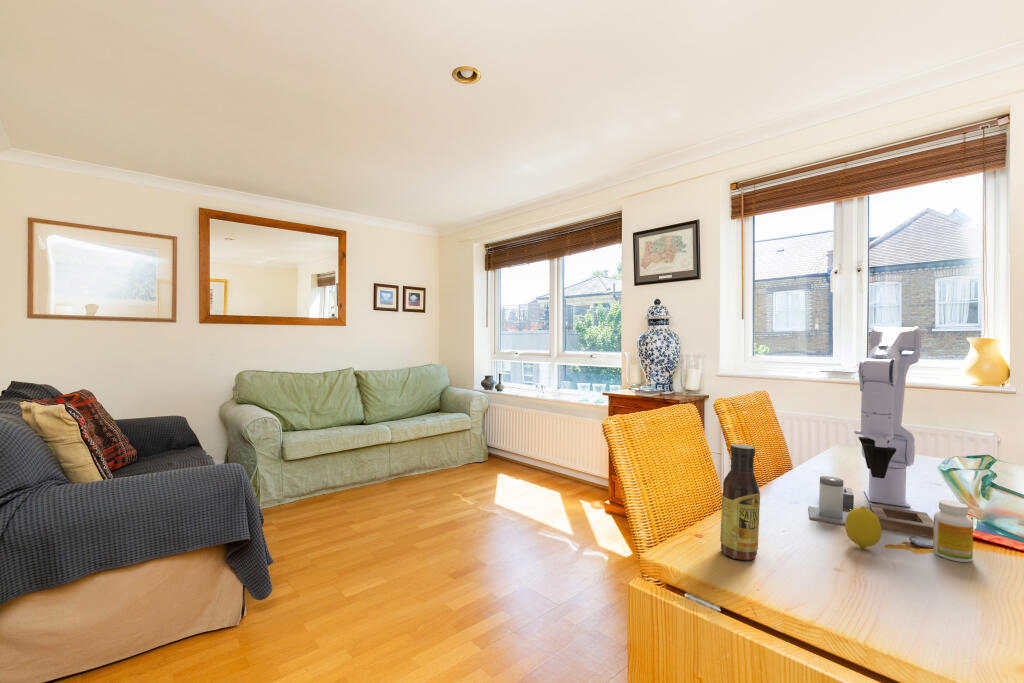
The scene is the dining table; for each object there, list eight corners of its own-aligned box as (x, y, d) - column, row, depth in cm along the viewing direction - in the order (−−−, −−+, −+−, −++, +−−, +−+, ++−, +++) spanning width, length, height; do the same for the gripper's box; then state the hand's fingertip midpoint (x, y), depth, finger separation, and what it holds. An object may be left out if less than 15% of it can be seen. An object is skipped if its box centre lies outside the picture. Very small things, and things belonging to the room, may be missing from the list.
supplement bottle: (980, 564, 85) (981, 510, 85) (945, 561, 86) (946, 507, 86) (958, 551, 90) (960, 499, 90) (925, 548, 92) (927, 497, 91)
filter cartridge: (818, 509, 110) (819, 475, 110) (841, 513, 108) (842, 478, 107) (819, 516, 106) (820, 480, 106) (843, 520, 104) (844, 483, 104)
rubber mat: (808, 508, 112) (808, 506, 112) (850, 515, 108) (850, 512, 108) (810, 519, 105) (810, 517, 105) (854, 527, 101) (854, 524, 101)
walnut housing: (869, 512, 110) (869, 504, 110) (926, 521, 105) (926, 512, 105) (876, 527, 101) (876, 518, 101) (938, 538, 96) (939, 528, 96)
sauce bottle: (742, 565, 84) (744, 451, 83) (712, 550, 89) (714, 444, 89) (766, 557, 87) (768, 448, 86) (736, 544, 92) (738, 441, 92)
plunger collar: (821, 498, 119) (821, 484, 119) (850, 502, 116) (850, 488, 116) (822, 505, 114) (823, 490, 114) (853, 510, 111) (853, 495, 111)
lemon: (874, 545, 93) (875, 503, 93) (885, 557, 87) (886, 513, 87) (840, 540, 94) (841, 500, 94) (850, 552, 89) (851, 509, 89)
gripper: (851, 406, 115) (850, 463, 116) (858, 415, 103) (857, 478, 103) (888, 409, 112) (887, 467, 112) (900, 418, 99) (899, 484, 99)
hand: (875, 473), depth 107 cm, fingers open, 7 cm apart
